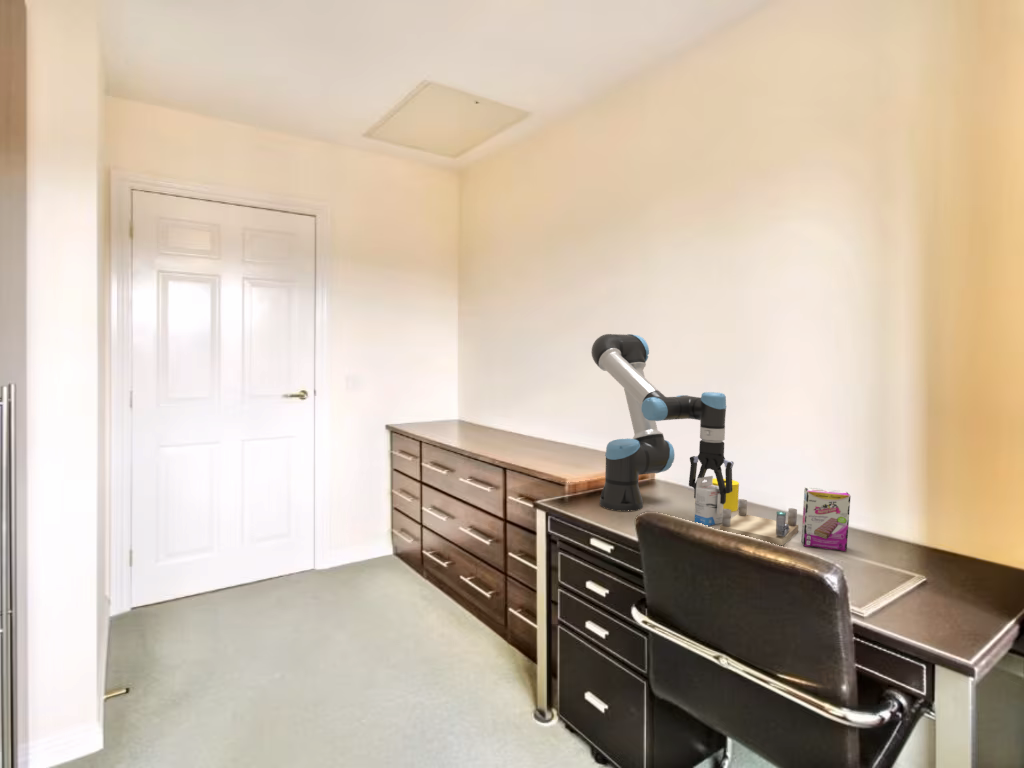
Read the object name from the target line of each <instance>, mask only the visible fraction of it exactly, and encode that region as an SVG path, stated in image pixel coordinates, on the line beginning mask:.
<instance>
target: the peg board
mask: <svg viewBox="0 0 1024 768" xmlns="http://www.w3.org/2000/svg"><path fill="white" fill-rule="evenodd" d="M747 509H748V500H747V499H742V498H741V499H739V498H738V513H737V514H736V515H734V516H732V512H731V510H730V509H723V517H722V523H721V524H720V525H719V530H723V531H727V532H732V533H736V534H741V535H745V536H749V537H753V538H756V539H760V540H763V541H767V542H770V543H774V544H777V545H776V546H778V545H782V546H781V547H783V546H784V545H785V544H786V543H788V542H789V541H790V540H791V539H792V538H793V537H794V536H795V535H796V534H797V533H798V532H799V524H797V520H798V519H797V517H798V509H797V508H793V507H789V508H788V510H787V511H788V512H787V513H788V514H787V521H786V522H785V523H787V524H789V528H790V529H789V531H788V533H787V534H786V535H785V536H779V535H776V519H771V518H765V517H760V516H755V515H751V514H750V515H749V514H747V511H748V510H747ZM774 544H773V545H774Z"/></svg>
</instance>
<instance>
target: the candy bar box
mask: <svg viewBox="0 0 1024 768" xmlns="http://www.w3.org/2000/svg"><path fill="white" fill-rule="evenodd" d="M803 493H804V494H803V506H802V507H803V508H802V509H803V510H802V522H801V523H802V524H801V536H800V537H801V544H802V546H803V547H808V548H815V549H824V550H833V551H841V552H847V550H848V549H847V548H848V537H849V525H850V524H849V523H850V509H851V497H852V496H851V495H850V493H848V491H844V490H835V489H823V488H817V487H816V488H815V487H813V488H812V487H804V492H803Z"/></svg>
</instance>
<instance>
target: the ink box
mask: <svg viewBox="0 0 1024 768" xmlns="http://www.w3.org/2000/svg"><path fill="white" fill-rule="evenodd" d="M713 479H714V476H713V475H708V476H704V477H702V478H697V477H696V480H697V483H696V482H695V483H696V497H695V498H694V499H695V503H694V523H695V522H698V523H702V524H704V525H708V526H707V527H711V526H715V525H718V524H722V517H723V507H722V513H721V514H717V498H718V493H720V490H719V486H716V485H712V481H713ZM703 481H704V482H703Z"/></svg>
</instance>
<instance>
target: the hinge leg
mask: <svg viewBox="0 0 1024 768" xmlns="http://www.w3.org/2000/svg"><path fill="white" fill-rule="evenodd" d="M775 515H776V516H775V517H776V519H775V520H776V535H779V536H785V535H786V534H787V533H788V531H789V529H790V528H789V524H787V523H788V522H787V521H786V519H787V517H786V516H787V512H785V511H781V510H780V511H779V510H778V511H776V514H775ZM785 522H786V523H785Z"/></svg>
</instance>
